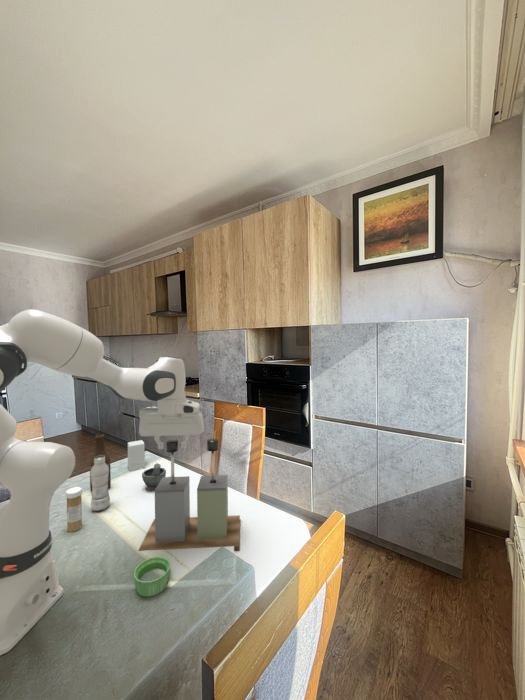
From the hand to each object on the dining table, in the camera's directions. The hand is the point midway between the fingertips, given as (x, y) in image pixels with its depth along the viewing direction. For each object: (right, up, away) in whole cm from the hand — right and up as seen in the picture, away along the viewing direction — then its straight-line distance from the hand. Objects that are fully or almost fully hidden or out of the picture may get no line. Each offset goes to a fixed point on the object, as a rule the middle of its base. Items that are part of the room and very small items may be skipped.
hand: (172, 448), depth 96 cm
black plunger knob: (+13, -18, +1) cm, 22 cm away
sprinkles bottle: (-35, -29, +5) cm, 46 cm away
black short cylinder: (0, -18, 0) cm, 18 cm away
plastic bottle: (-33, -29, +18) cm, 47 cm away
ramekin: (0, -30, -18) cm, 35 cm away
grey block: (0, -28, +1) cm, 28 cm away
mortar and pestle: (-18, -29, +34) cm, 48 cm away
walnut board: (+7, -29, +1) cm, 30 cm away
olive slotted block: (+13, -28, +1) cm, 31 cm away
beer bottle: (-41, -29, +32) cm, 59 cm away
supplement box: (-35, -28, +56) cm, 72 cm away
